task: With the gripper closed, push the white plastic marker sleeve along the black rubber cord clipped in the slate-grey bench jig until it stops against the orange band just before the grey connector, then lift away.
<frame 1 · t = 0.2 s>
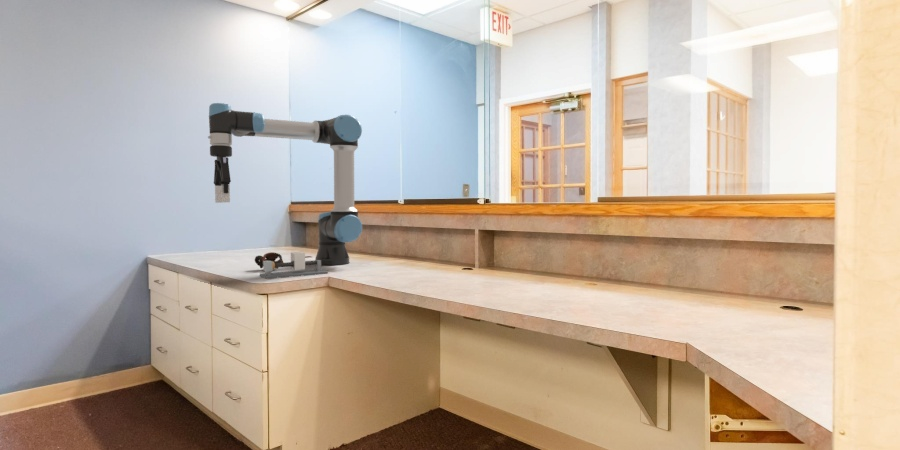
hand: (222, 202, 192), 28 cm above the worktop, fingers open, 13 cm apart
pottery mug: (269, 270, 210), on the worktop
sleeve: (297, 260, 197), point 5 cm above the worktop, slide at 0.0 cm
cord jig: (294, 274, 196), on the worktop
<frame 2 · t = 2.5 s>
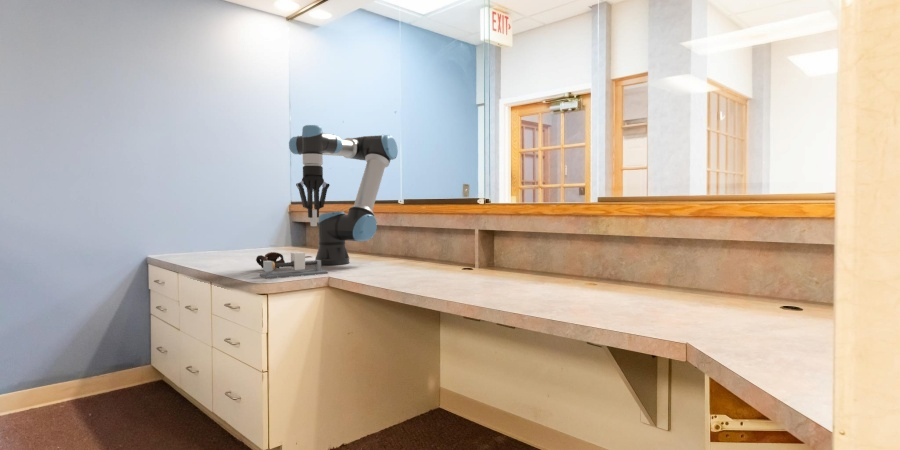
hand: (313, 226, 200), 18 cm above the worktop, fingers closed
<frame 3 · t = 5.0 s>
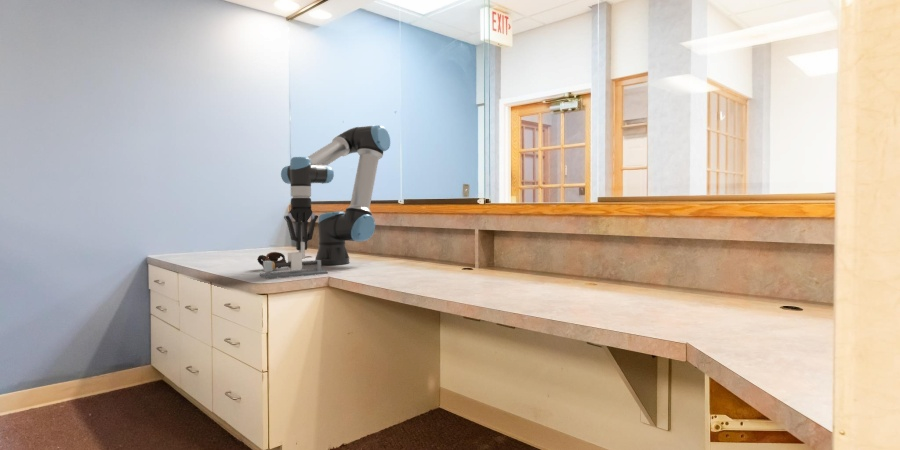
hand: (301, 258, 197), 6 cm above the worktop, fingers closed
sleeve: (294, 261, 196), point 5 cm above the worktop, slide at 1.2 cm, touching gripper
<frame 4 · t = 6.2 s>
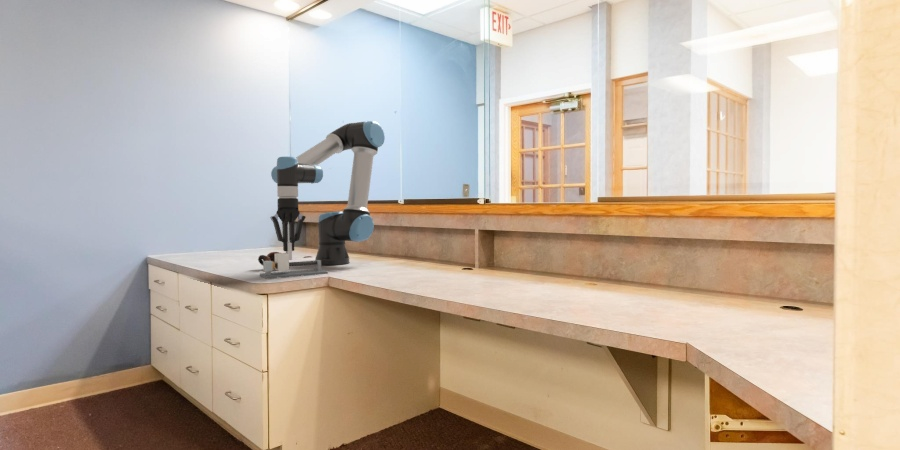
hand: (289, 259, 195), 6 cm above the worktop, fingers closed
sleeve: (281, 262, 193), point 5 cm above the worktop, slide at 6.2 cm, touching gripper
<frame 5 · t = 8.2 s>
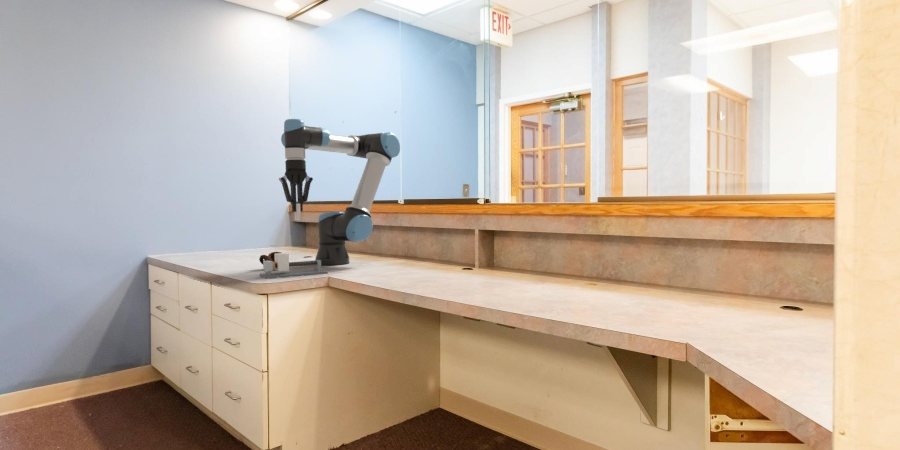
hand: (297, 220, 200), 21 cm above the worktop, fingers closed
sleeve: (281, 262, 193), point 5 cm above the worktop, slide at 6.2 cm
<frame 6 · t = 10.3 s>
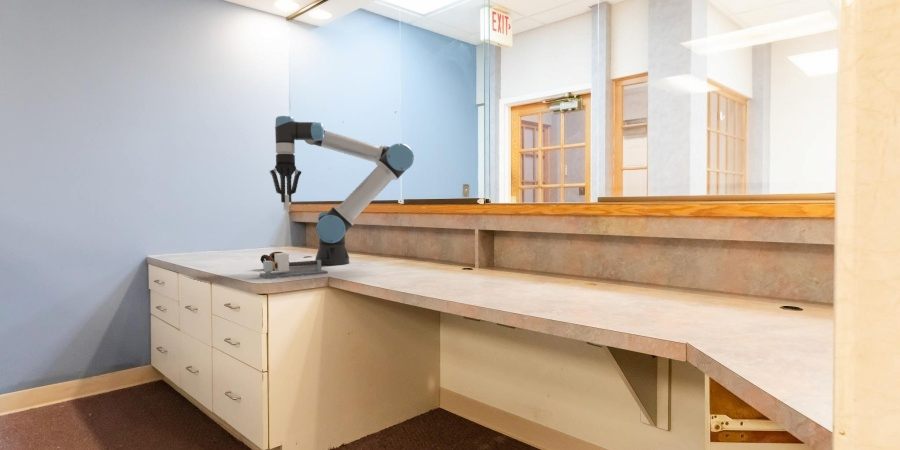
hand: (286, 210, 214), 24 cm above the worktop, fingers closed
at the end: sleeve slide at 6.2 cm; sleeve touching nothing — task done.
